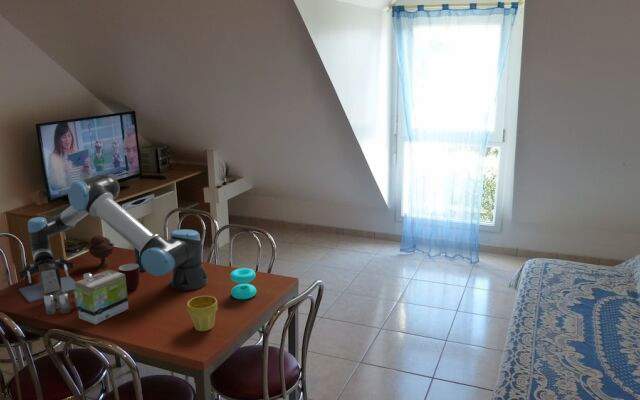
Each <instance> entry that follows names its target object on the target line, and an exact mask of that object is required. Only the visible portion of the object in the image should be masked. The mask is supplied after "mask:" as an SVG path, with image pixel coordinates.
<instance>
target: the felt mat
mask: <svg viewBox="0 0 640 400" xmlns="http://www.w3.org/2000/svg"><path fill="white" fill-rule="evenodd" d="M60 280H61V287H62V293H64V292H65V293H72V292H74V290H75V289H76V285H75V282H76V281H75V279H73V277H71V276H70V275H69V276H63V277H60ZM18 291H19V292H20V294H21V295H22V296H23V297H24V299H26V301H27V303H29V304H32V303H36V302H40V301H44V297H43V291H42V285H41V282H39V283H35V284H33V285H32V284H31V285H27V286H24V287H20V288H19V289H18Z"/></svg>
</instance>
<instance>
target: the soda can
mask: <svg viewBox="0 0 640 400" xmlns="http://www.w3.org/2000/svg"><path fill="white" fill-rule="evenodd" d="M133 248H134V256H135V264H138V265H139V268H140V271H146V270H145V269H144V268H143V264H142V263H141V258H140V257H139V251H138V250H137V249H136V248H135V247H134V246H133Z"/></svg>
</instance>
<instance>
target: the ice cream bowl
mask: <svg viewBox="0 0 640 400" xmlns="http://www.w3.org/2000/svg"><path fill="white" fill-rule="evenodd" d="M89 243H90V246H88V252H89V254H90V255H92V256H93V257H94V258H97V259H100V263H99V264H97V268H98V269H106V267H107V268H109V267H110V266H111V264H110V263H109V262H106V258H107V257H109V256H110V255H111V254H112V253H113V252H114V247H115V246H114V245H115V244H114V243H112V242H111V239H110V238H108V237H106V236H102V235H101V234H96V235H93V236H92V237H91V239H90V241H89ZM108 266H109V267H108Z"/></svg>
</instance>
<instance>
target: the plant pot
mask: <svg viewBox="0 0 640 400" xmlns="http://www.w3.org/2000/svg"><path fill="white" fill-rule="evenodd" d="M186 305H187V307H186V308H187V313H188V315H190V317H191V321H192V324H193V326H194V329H195V330H196V331H198V332H206V331H210V330H212V329H214V326H215V321H216V312H217V311H218V309H219V308H218V300H217V298H216V297H214V296H211V295H200V296H195V297H193V298H190V300H188V301H187V304H186Z"/></svg>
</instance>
